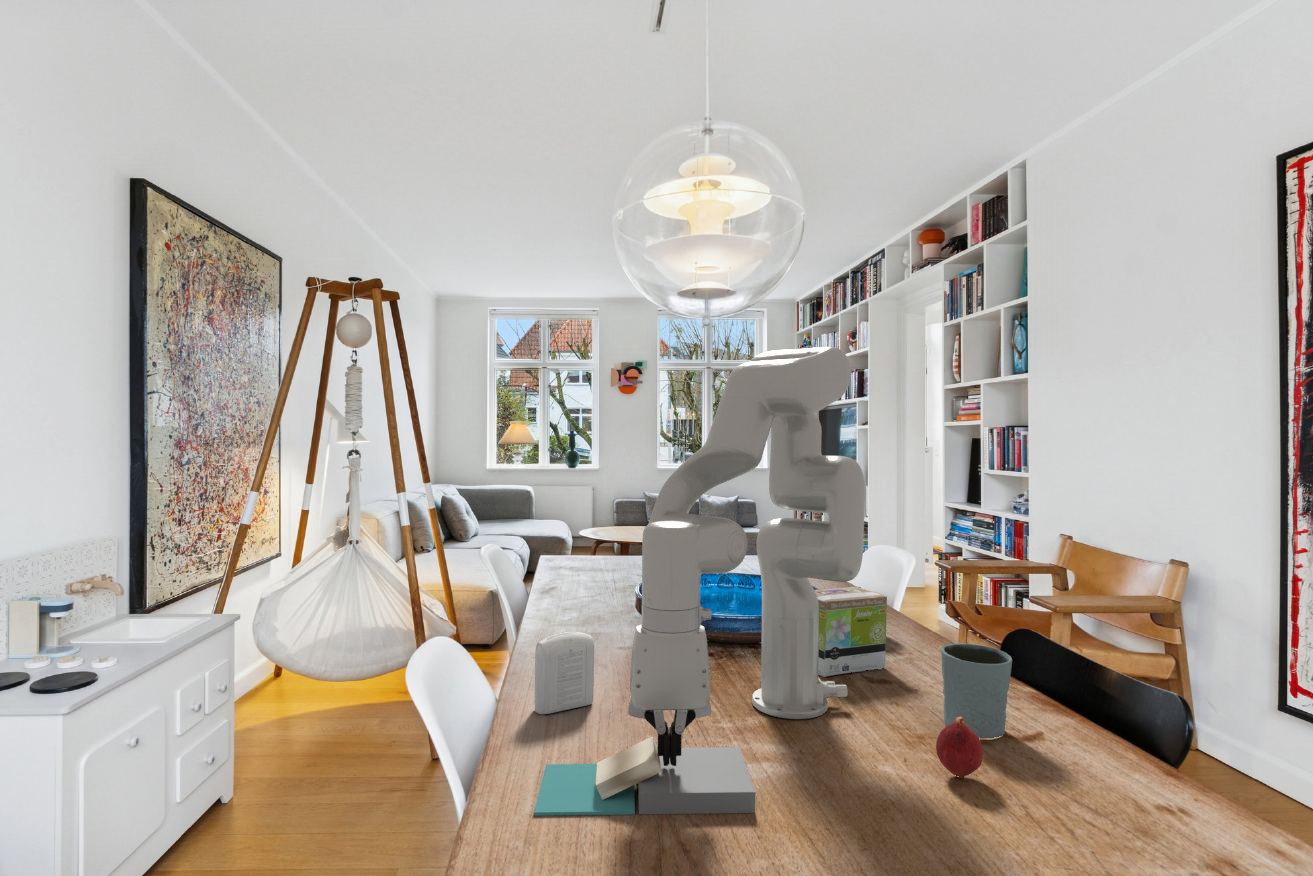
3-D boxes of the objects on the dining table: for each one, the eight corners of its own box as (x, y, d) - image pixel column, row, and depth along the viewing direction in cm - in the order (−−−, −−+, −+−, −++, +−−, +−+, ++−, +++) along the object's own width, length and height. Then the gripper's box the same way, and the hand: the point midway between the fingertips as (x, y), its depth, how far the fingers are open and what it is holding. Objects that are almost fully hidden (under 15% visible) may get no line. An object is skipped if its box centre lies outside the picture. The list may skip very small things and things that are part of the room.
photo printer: (585, 696, 119) (586, 625, 119) (597, 705, 115) (598, 631, 115) (530, 709, 113) (531, 634, 113) (541, 718, 109) (541, 641, 109)
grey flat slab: (739, 765, 94) (739, 747, 94) (755, 813, 82) (755, 792, 82) (637, 766, 93) (637, 748, 93) (638, 814, 82) (639, 793, 82)
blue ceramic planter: (955, 711, 114) (956, 639, 114) (1021, 730, 107) (1021, 653, 107) (929, 728, 107) (930, 652, 107) (997, 750, 99) (998, 668, 99)
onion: (980, 793, 87) (980, 730, 87) (932, 780, 90) (932, 720, 90) (985, 774, 92) (985, 715, 92) (940, 763, 95) (940, 706, 95)
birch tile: (658, 750, 90) (652, 736, 90) (661, 771, 84) (654, 757, 84) (603, 776, 90) (596, 762, 90) (602, 800, 84) (595, 785, 84)
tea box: (825, 679, 128) (826, 601, 129) (794, 663, 138) (794, 590, 138) (887, 669, 134) (888, 594, 135) (853, 654, 144) (854, 584, 144)
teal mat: (633, 766, 93) (634, 763, 93) (634, 814, 81) (634, 811, 81) (546, 767, 93) (546, 764, 93) (533, 815, 81) (533, 812, 81)
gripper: (724, 610, 92) (722, 747, 92) (613, 611, 91) (611, 748, 91) (733, 626, 84) (731, 774, 84) (612, 626, 84) (610, 776, 83)
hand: (669, 760), depth 88 cm, fingers closed
